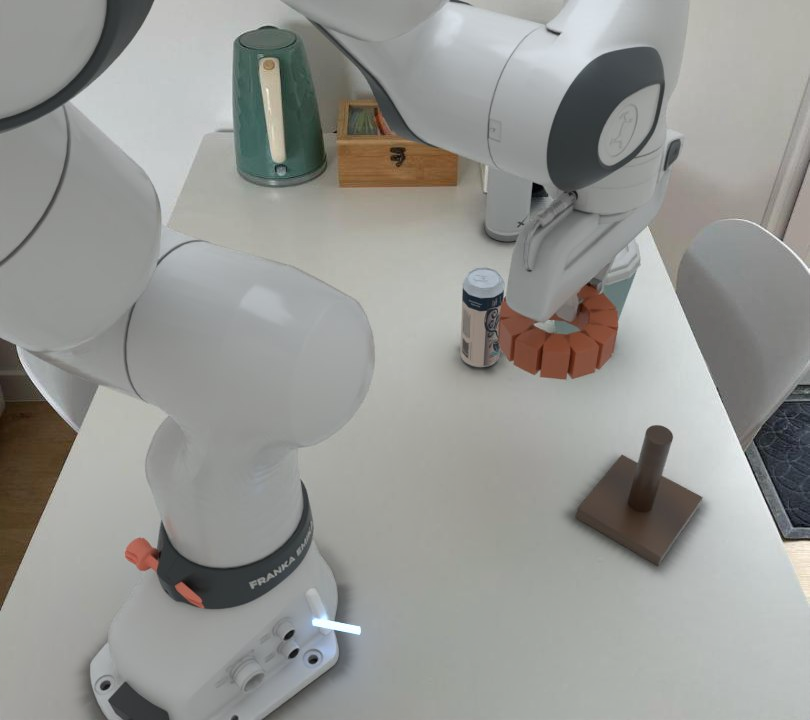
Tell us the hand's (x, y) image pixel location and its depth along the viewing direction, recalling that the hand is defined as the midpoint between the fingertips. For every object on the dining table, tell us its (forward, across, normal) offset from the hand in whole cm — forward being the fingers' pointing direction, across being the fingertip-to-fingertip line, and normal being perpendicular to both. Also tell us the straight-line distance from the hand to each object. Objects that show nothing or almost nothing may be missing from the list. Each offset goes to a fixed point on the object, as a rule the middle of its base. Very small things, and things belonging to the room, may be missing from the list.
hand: (579, 304), depth 73 cm
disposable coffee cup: (+21, +18, +8) cm, 29 cm away
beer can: (+21, +8, +16) cm, 27 cm away
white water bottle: (+21, +33, +29) cm, 49 cm away
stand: (+21, -1, -10) cm, 23 cm away
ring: (+2, -4, 0) cm, 4 cm away
